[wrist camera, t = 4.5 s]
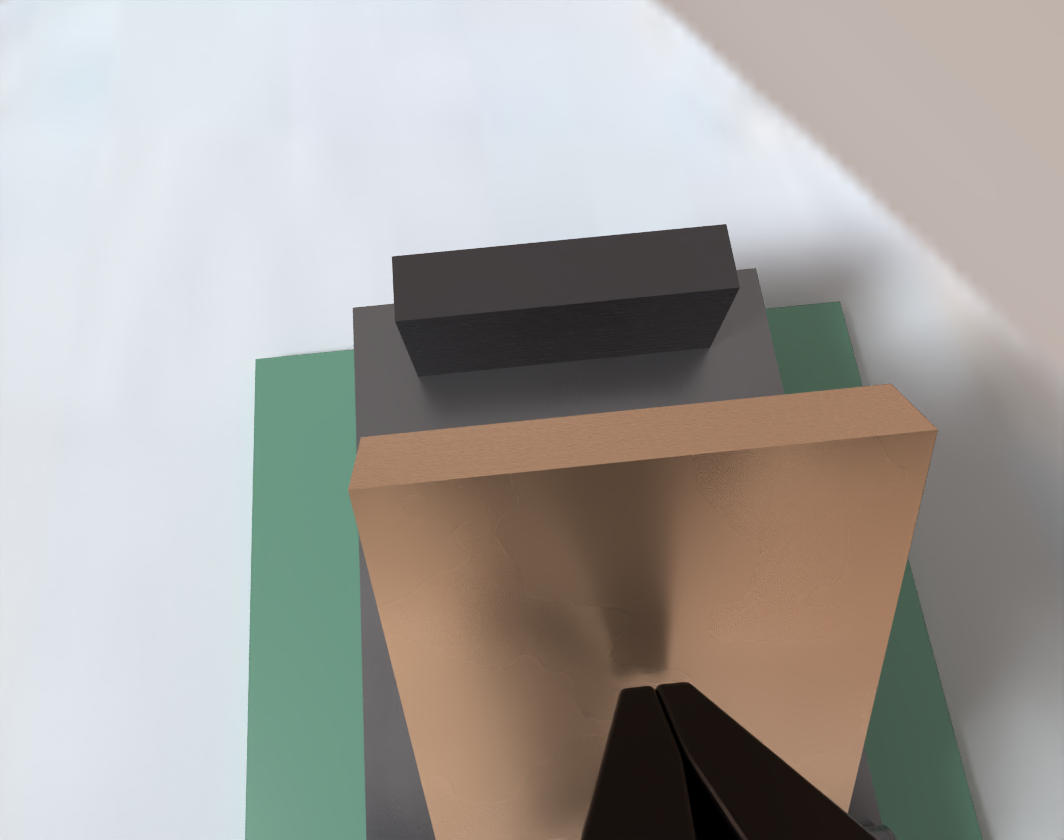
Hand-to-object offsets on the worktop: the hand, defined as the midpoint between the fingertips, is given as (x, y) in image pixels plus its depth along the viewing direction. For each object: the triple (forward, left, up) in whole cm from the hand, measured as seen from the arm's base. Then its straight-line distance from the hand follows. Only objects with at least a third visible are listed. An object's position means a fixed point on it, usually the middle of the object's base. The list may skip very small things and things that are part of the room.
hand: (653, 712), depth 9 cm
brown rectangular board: (0, 0, -2) cm, 2 cm away
